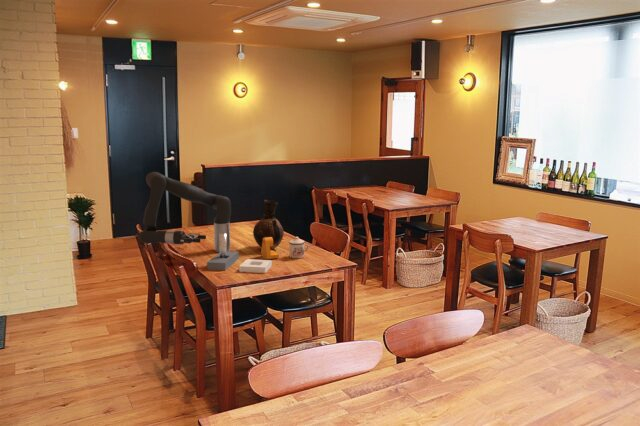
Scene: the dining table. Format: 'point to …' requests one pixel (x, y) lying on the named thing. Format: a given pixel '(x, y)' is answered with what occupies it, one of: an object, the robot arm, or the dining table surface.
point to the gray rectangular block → (222, 261)
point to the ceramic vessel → (268, 226)
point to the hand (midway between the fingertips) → (203, 238)
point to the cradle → (255, 266)
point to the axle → (223, 245)
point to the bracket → (268, 249)
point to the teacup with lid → (297, 248)
